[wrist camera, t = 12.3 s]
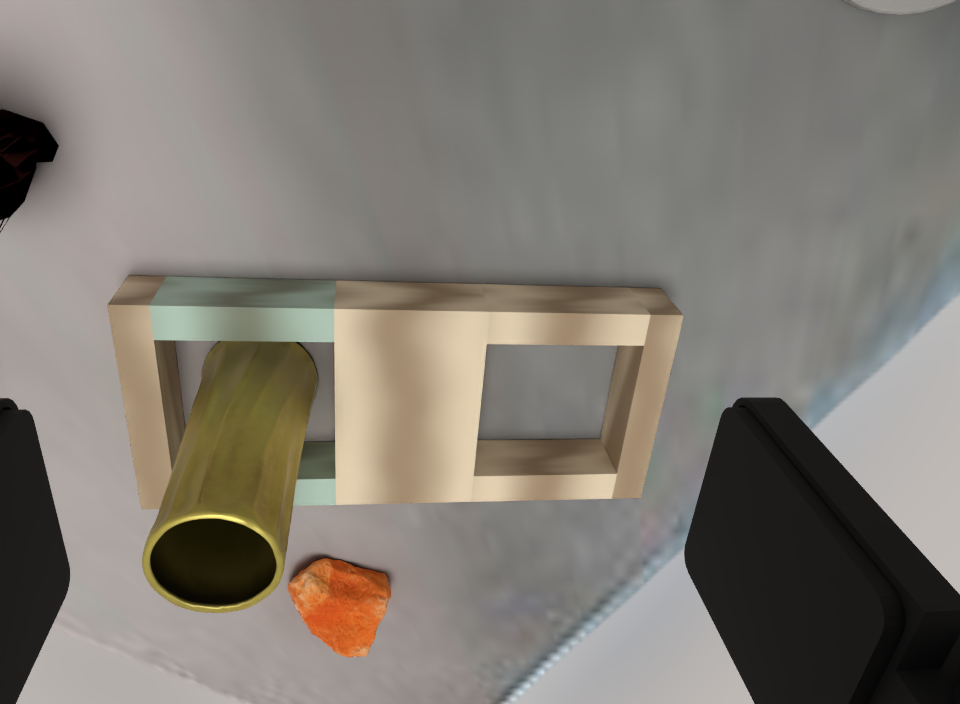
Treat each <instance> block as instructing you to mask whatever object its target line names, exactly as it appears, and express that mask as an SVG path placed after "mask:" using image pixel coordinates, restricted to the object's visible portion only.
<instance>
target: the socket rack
mask: <svg viewBox="0 0 960 704" xmlns="http://www.w3.org/2000/svg"><path fill="white" fill-rule="evenodd" d="M108 311H109V317H110V323H111V329H112V335H113V341H114V347H115V353H116V359H117V365H118V371H119V377H120V383H121V389H122V395H123V401H124V408H125V414H126V420H127V426H128V432H129V438H130V444H131V450H132V456H133V462H134V468H135V474H136V480H137V486H138V492H139V498H140V504H141V509H160V506H161V503H162V500H163V497H164V494H165V491H166V488H167V485H168V482H169V479H170V476H171V473H172V470H173V466H174V463H175V460H176V457H177V454H178V450H179V447H180V444H181V441H182V438H183V435H184V432H185V422H184V414H183V406H182V398H181V390H180V382H179V374H178V365H177V357H176V349H175V341H174V340H185V341H273V342H334V356H335V442H304V443H303V448H302V453H301V459H300V464H299V470H298V476H297V481H296V488H295V495H294V502H293V506H304V505H347V504H391V503H435V502H478V501H522V500H566V499H609V498H641V495H642V491H643V486H644V482H645V478H646V474H647V469H648V465H649V461H650V457H651V452H652V448H653V444H654V440H655V435H656V431H657V427H658V423H659V418H660V414H661V410H662V406H663V401H664V397H665V393H666V389H667V384H668V380H669V376H670V372H671V367H672V363H673V359H674V355H675V350H676V346H677V342H678V337H679V333H680V329H681V325H682V320H683V316H684V315H683V314H682V313H681V312H680V311H679V309H678V308H677V307H676V306H675V305H674V304H673V303H672V301H671V300H670V299H669V298H668V297H667V296H666V294H665V293H664V292H663V291H662V290H661V289H660V288H623V287H582V286H541V285H500V284H459V283H418V282H377V281H336V280H295V279H255V278H214V277H173V276H132V275H129V276H128V277H127V278H126V280H125V281H124V282H123V284H122V285H121V287H120V288H119V289H118V291H117V292H116V294H115V295H114V296H113V298H112V299H111V301H110V302H109V303H108ZM487 344H536V345H618V350H617V355H616V360H615V365H614V371H613V376H612V381H611V386H610V391H609V396H608V401H607V407H606V412H605V417H604V422H603V427H602V432H601V438H600V439H556V440H477V437H478V427H479V417H480V407H481V397H482V387H483V376H484V366H485V356H486V346H487Z"/></svg>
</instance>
